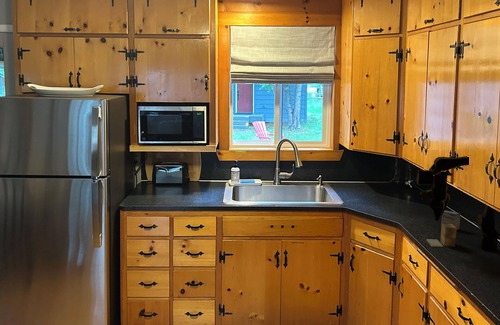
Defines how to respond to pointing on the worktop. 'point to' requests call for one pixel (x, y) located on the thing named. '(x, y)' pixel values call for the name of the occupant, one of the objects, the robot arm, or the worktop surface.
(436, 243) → the mat
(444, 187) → the robot arm
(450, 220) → the medicine box
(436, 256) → the worktop surface
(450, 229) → the wooden block
